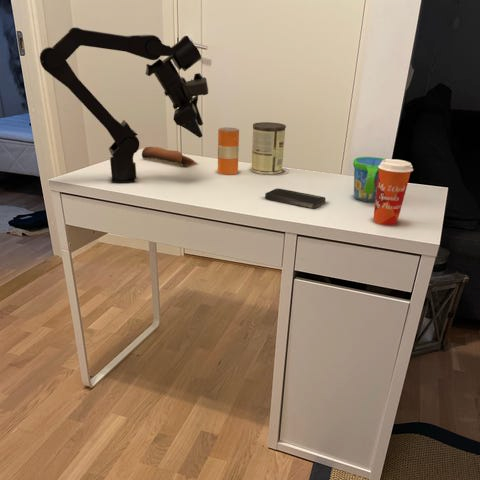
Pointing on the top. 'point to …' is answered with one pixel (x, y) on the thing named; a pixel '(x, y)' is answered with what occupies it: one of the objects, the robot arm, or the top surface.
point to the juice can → (228, 150)
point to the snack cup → (366, 177)
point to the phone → (295, 198)
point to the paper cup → (391, 190)
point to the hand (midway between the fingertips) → (201, 130)
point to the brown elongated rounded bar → (167, 155)
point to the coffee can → (268, 147)
